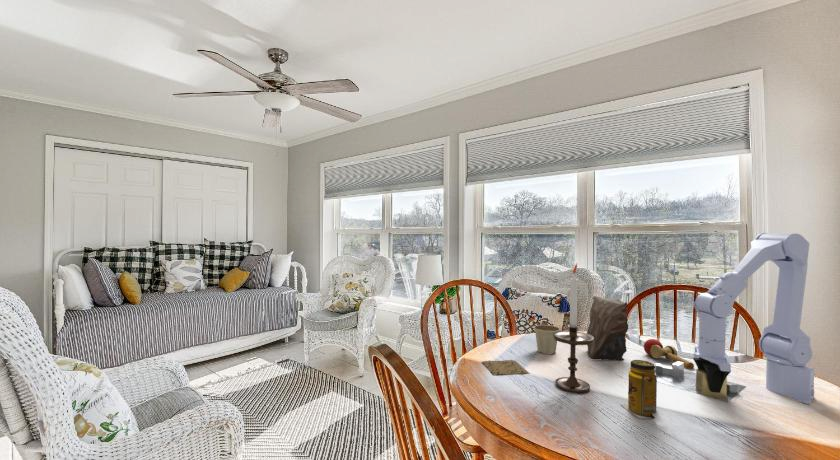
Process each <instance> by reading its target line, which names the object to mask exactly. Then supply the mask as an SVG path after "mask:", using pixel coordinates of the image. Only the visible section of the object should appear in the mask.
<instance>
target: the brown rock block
mask: <svg viewBox="0 0 840 460" xmlns="http://www.w3.org/2000/svg"><path fill="white" fill-rule="evenodd" d="M592 299H593V302H592V304H591V307H590V311H589V323H588V326H587V331H586V333H587V334H590V335H592V336H593V337H594V343H593V344H590V345H586V346H587V353H589V354H588V358H589V359H590V358H591V359H601V360H600V361H620V360H621V361H624V360H625V358H623V356H624V354H626V352H627V344H626V342H627V340H626V335H627V333H628V329H629V324H628V314H627V313H628V311H627V310H628V309H627V308H628V302H623V301H621V300H620V299H616V298H615V299H610V298H603V297H601V296H596V295H593V297H592ZM591 359H590V360H591Z"/></svg>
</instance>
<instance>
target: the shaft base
mask: <svg viewBox="0 0 840 460" xmlns="http://www.w3.org/2000/svg"><path fill="white" fill-rule="evenodd" d="M654 366H655V375H656V377H657V383H661V384H664V385H667V386H670V387H673V388H676V389H680V390H683V391H687V392H690V393H695V394H698V395H700V396H704V397H708V398H710V399H714V400H718V401H720V402H723V403H729V402H730V401H731V400H733V398H735V397H736V396H737V395H738V394H739V393H741V392H742V391H743V390H744V389H745V388H746V387H747V386H745V385H741V384H739V383H735V382H732V381H727V394H726V397H724V396H713V395H702V394H701V393H700V392H699V391H698V390H696V372H692V371H688V370H686V369H685V368H684V363H683V362H679V361H677V362H673V363H672V364H671V366H669V365H666V364H663V363H657V362H656V363H654Z"/></svg>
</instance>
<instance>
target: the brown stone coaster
mask: <svg viewBox="0 0 840 460" xmlns="http://www.w3.org/2000/svg"><path fill="white" fill-rule="evenodd" d="M481 364H482V365H483V366H484V367H485V368H486V369H487V371H488V372H489V373H490V374H491V375H492V376H510V375H511V376H512V375H515V376H516V375H530V372H529V371H528V370H527V369H525V368H524V366H522V365H521V364H519V363H518V362H517V361H516V360H514V359H506V360H505V359H504V360H484V361H481Z"/></svg>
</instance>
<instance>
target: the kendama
mask: <svg viewBox="0 0 840 460" xmlns="http://www.w3.org/2000/svg"><path fill="white" fill-rule="evenodd" d="M643 351H644V352H645V353H646V354H647V355H648V356H650V357H652V358H654V359H660V358H662V357H664V358H665V359H666V360H667V361H671V362H673V363H675V362H677V361H679V362H683V363H684V369H685V370H687V369H694V368H695V364H694V363H693V362H692V361H689V360H687V359H684V358H682V357H680V356H678V351H677V348H675V347H674V346H672V345H665V347H664V345H663V344H662V342H661V341H659V340H657V339H655V338H654V339H653V338H650V339H647V340H646V341H645V342H644V343H643Z"/></svg>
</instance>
